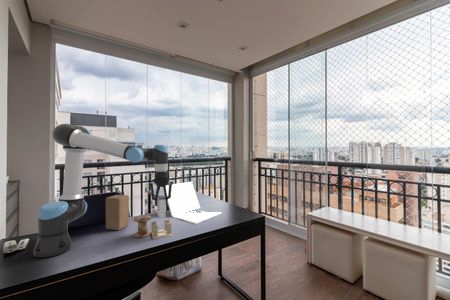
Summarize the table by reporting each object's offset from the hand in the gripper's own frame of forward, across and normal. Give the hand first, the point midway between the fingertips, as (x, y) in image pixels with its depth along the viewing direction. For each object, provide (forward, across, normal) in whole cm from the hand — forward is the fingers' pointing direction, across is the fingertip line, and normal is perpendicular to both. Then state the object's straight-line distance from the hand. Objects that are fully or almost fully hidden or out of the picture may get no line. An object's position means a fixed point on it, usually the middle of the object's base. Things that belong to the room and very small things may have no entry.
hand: (161, 210), depth 126 cm
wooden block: (+14, -24, +24) cm, 37 cm away
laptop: (+14, +28, +31) cm, 44 cm away
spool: (+14, -10, +4) cm, 18 cm away
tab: (+2, 0, 0) cm, 2 cm away
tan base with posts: (+14, 0, 0) cm, 14 cm away
